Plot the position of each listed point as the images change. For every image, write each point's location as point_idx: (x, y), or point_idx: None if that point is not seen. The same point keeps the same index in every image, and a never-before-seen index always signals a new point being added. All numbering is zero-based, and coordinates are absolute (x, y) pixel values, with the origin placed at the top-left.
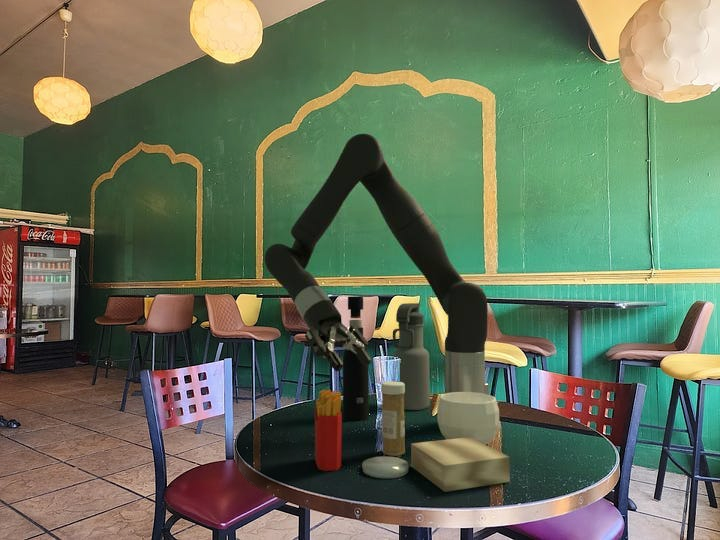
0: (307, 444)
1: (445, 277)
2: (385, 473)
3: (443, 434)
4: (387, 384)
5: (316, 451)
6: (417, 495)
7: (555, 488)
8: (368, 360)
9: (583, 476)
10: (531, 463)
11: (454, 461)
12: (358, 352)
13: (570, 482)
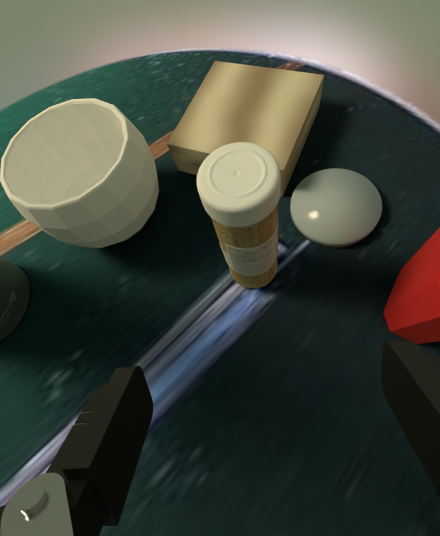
0: (390, 471)
1: None
2: (362, 176)
3: (148, 217)
4: (272, 164)
5: None
6: (360, 118)
7: (199, 62)
8: (136, 372)
9: (140, 68)
10: (136, 117)
11: (296, 79)
12: (109, 491)
13: (169, 64)
